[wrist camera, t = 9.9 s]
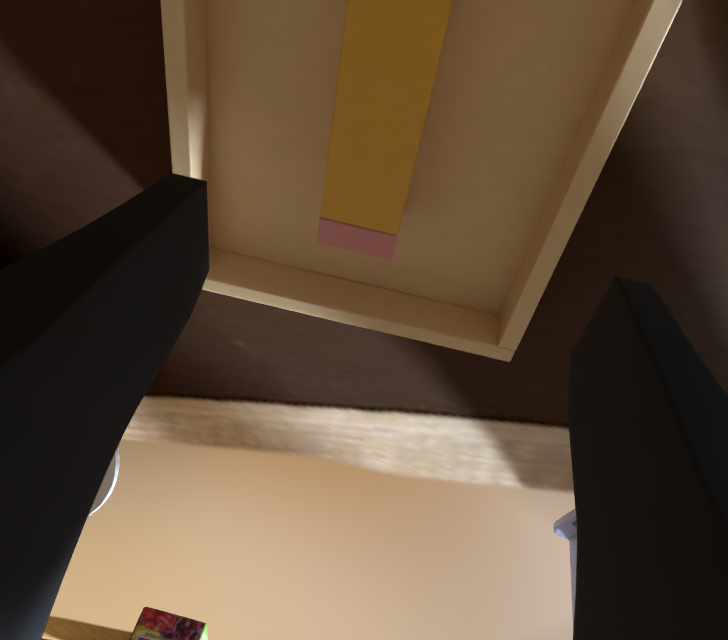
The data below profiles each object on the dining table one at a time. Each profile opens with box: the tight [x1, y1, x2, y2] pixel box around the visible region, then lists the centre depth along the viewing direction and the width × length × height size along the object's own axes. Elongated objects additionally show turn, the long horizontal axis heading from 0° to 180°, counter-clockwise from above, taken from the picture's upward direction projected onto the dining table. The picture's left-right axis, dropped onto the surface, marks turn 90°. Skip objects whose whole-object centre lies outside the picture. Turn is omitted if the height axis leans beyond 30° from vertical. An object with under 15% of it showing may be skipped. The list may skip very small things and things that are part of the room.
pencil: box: [317, 0, 454, 260], centre depth 16 cm, size 10×2×2 cm, turn 171°
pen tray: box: [161, 0, 682, 362], centre depth 17 cm, size 16×11×2 cm
